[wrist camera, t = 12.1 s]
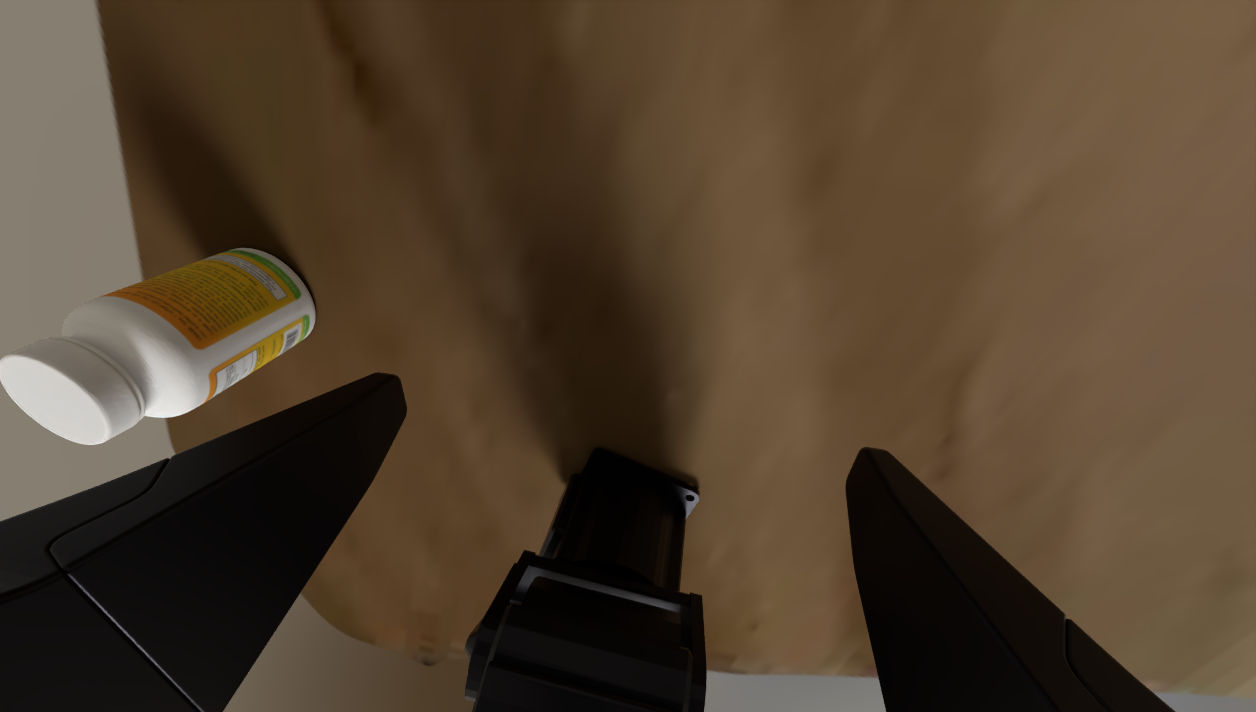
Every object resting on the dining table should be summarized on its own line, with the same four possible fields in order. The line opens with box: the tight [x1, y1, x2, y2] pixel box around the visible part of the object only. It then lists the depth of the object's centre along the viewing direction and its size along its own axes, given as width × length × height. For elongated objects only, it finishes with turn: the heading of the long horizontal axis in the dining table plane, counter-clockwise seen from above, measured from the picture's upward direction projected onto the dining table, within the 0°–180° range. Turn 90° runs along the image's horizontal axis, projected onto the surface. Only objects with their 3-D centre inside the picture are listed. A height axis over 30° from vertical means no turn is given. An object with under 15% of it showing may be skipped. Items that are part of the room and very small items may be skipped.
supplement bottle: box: [0, 248, 316, 445], centre depth 21 cm, size 5×5×10 cm
